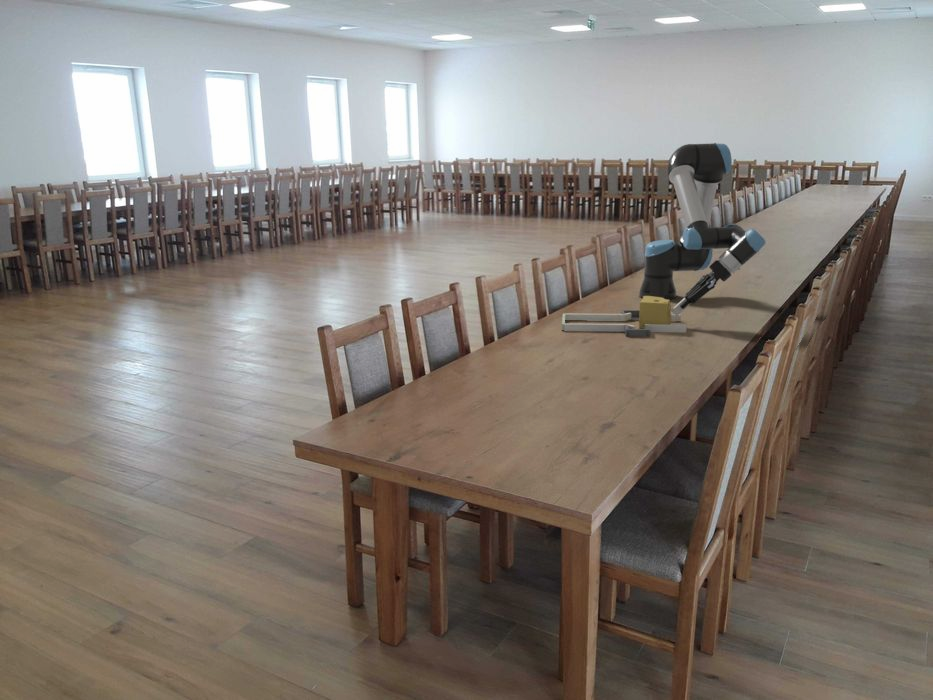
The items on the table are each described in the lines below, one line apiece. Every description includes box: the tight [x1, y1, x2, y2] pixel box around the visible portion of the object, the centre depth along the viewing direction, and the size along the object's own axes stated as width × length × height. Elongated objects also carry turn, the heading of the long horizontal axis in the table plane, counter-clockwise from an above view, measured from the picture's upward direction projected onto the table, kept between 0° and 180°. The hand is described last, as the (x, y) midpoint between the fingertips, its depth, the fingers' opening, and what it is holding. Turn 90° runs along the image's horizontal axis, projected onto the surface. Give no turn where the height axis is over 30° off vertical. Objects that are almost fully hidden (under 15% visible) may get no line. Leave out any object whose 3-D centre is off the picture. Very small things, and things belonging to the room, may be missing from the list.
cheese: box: [638, 296, 672, 329], centre depth 270 cm, size 10×11×10 cm
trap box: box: [561, 309, 687, 338], centre depth 273 cm, size 29×43×2 cm
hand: (673, 313), depth 269 cm, fingers closed
